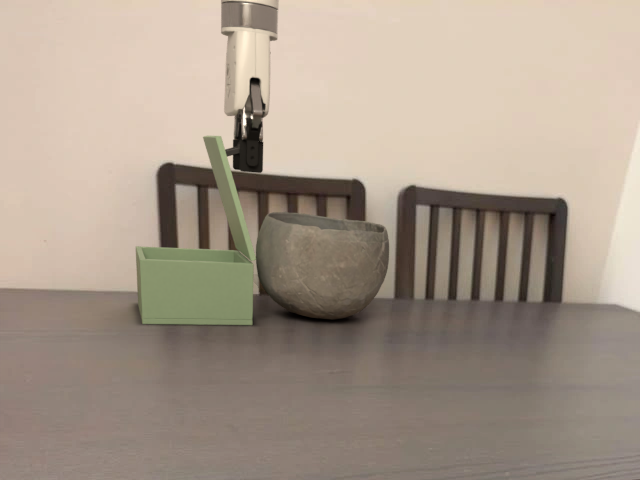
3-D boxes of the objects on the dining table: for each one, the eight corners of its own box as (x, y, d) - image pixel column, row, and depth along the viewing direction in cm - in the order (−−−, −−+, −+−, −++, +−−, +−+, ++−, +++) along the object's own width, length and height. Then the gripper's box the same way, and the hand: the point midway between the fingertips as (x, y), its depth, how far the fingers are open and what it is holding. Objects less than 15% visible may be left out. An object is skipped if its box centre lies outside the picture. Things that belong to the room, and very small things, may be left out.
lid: (215, 137, 96) (255, 126, 97) (202, 136, 107) (238, 127, 108) (251, 261, 104) (288, 250, 104) (235, 248, 115) (269, 238, 116)
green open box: (142, 324, 102) (139, 259, 99) (138, 304, 114) (135, 246, 111) (252, 325, 107) (253, 263, 104) (237, 306, 119) (238, 250, 115)
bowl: (251, 327, 106) (253, 218, 100) (256, 300, 125) (258, 207, 119) (390, 335, 109) (401, 229, 102) (375, 308, 127) (383, 217, 121)
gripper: (212, 28, 104) (213, 166, 111) (231, 11, 89) (230, 171, 96) (264, 35, 106) (261, 170, 113) (291, 19, 91) (285, 176, 99)
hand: (247, 169), depth 105 cm, fingers closed on lid, 5 cm apart
